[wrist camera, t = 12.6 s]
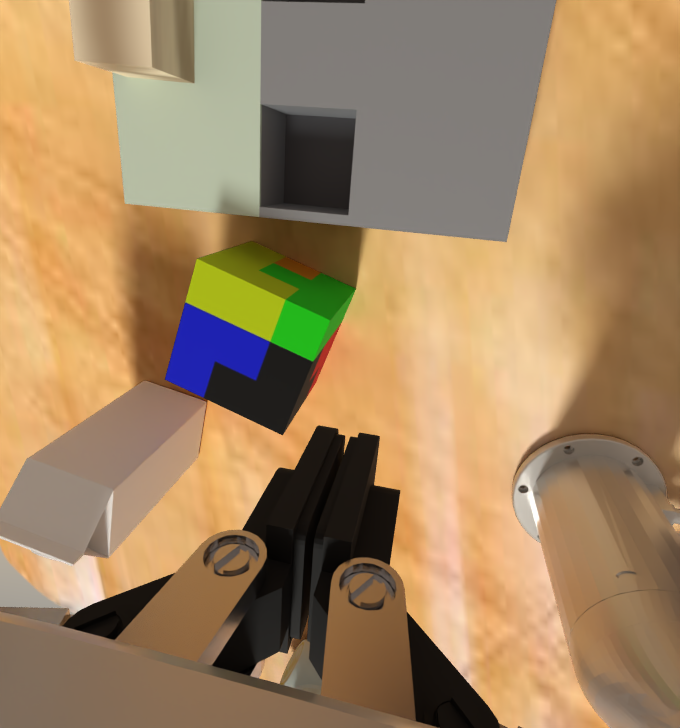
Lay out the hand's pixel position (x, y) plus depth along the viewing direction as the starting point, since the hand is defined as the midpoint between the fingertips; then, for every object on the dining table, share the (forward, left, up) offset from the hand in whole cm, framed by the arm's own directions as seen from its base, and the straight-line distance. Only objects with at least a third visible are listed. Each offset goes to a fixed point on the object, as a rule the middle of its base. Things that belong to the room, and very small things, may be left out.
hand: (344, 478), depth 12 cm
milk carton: (+23, +18, -29) cm, 41 cm away
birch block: (+18, -15, -23) cm, 33 cm away
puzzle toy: (+11, +5, -29) cm, 32 cm away
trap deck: (+8, -14, -29) cm, 33 cm away
